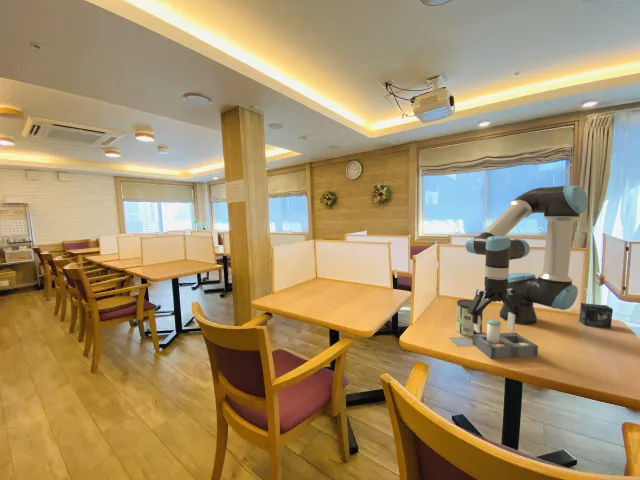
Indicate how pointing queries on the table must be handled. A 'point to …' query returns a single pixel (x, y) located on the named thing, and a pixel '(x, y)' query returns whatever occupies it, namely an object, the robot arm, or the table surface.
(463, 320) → the coffee can
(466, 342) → the mat
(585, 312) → the box
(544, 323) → the table surface
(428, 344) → the table surface
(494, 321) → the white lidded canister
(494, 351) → the socket box
